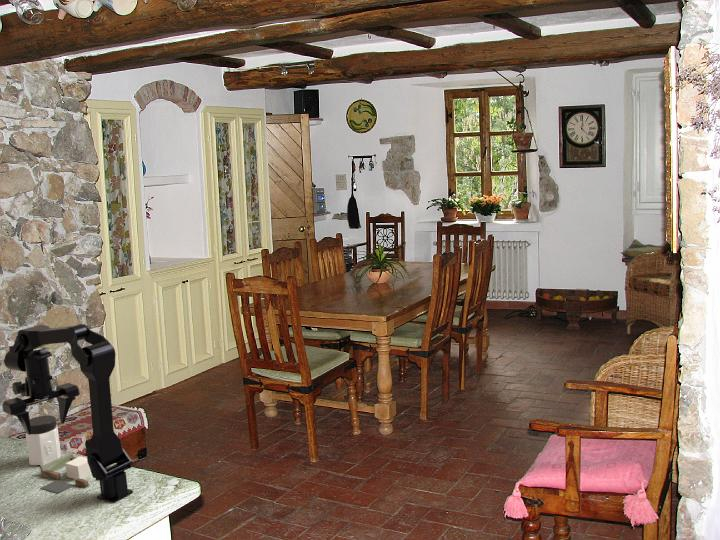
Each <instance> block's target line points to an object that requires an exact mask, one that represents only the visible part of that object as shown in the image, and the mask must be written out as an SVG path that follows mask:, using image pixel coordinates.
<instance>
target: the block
mask: <svg viewBox="0 0 720 540" xmlns="http://www.w3.org/2000/svg"><path fill="white" fill-rule="evenodd" d="M65 464H66V466H65V471H66V472H65V473H66V477H68V478H70V479H73V480H75V479H77V478H80V479H84V478H87V477H89V476H90V475H92V473H91V470H90V467H89V465H88V462H87V457H86V456H78V457H76V459H74V460H72V461H69V462H67V463H65Z"/></svg>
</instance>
